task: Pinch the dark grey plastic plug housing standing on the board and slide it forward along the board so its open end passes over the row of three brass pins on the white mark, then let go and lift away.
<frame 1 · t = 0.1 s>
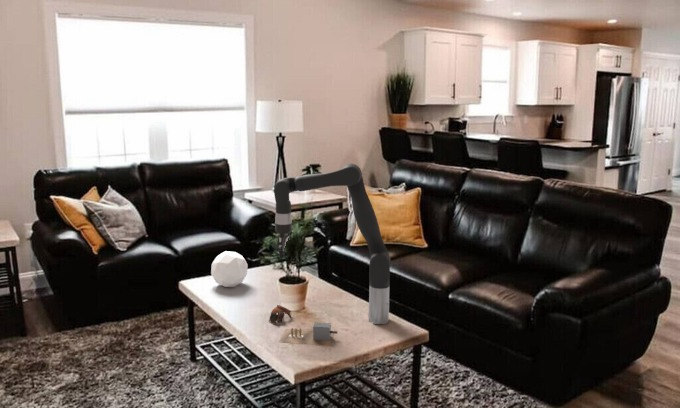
hand: (283, 255, 268), 29 cm above the table, tool pointing down, fingers open, 8 cm apart
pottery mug: (280, 321, 267), on the table
plug housing: (322, 338, 246), point 1 cm above the table, touching header board
header board: (307, 340, 247), on the table
geometric orb: (229, 285, 313), on the table
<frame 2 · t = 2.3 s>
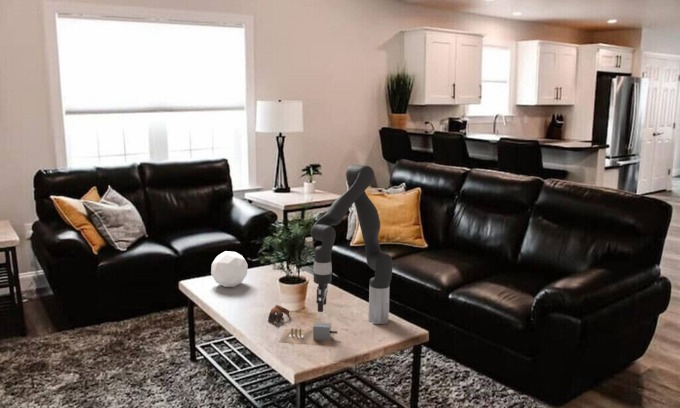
hand: (322, 307, 243), 15 cm above the table, tool pointing down, fingers open, 8 cm apart
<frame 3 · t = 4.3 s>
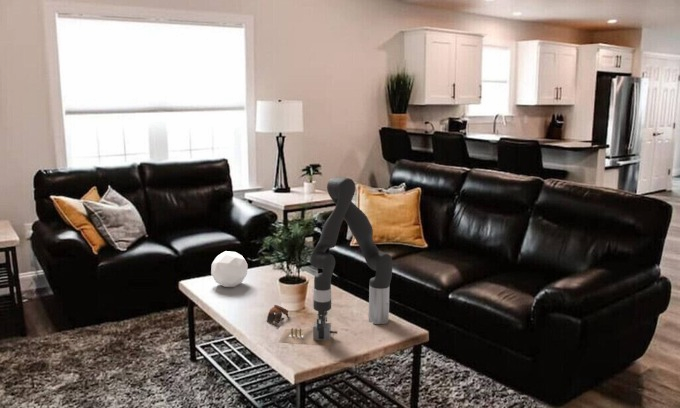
hand: (322, 335, 246), 3 cm above the table, tool pointing down, fingers closed on plug housing, 4 cm apart
plug housing: (322, 338, 246), point 2 cm above the table, touching gripper, header board
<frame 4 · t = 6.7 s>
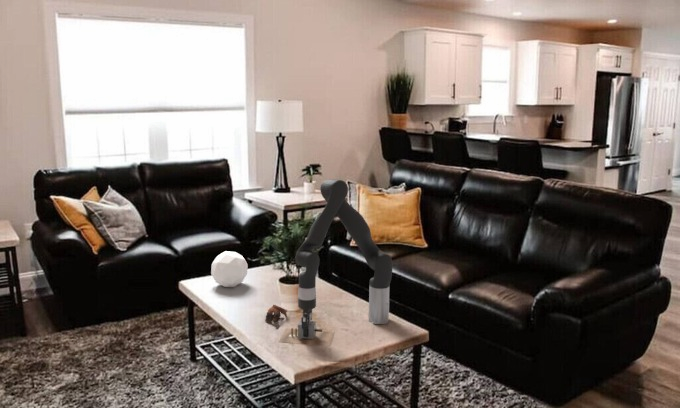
hand: (306, 333, 246), 3 cm above the table, tool pointing down, fingers closed on plug housing, 4 cm apart
plug housing: (307, 336, 246), point 2 cm above the table, touching gripper
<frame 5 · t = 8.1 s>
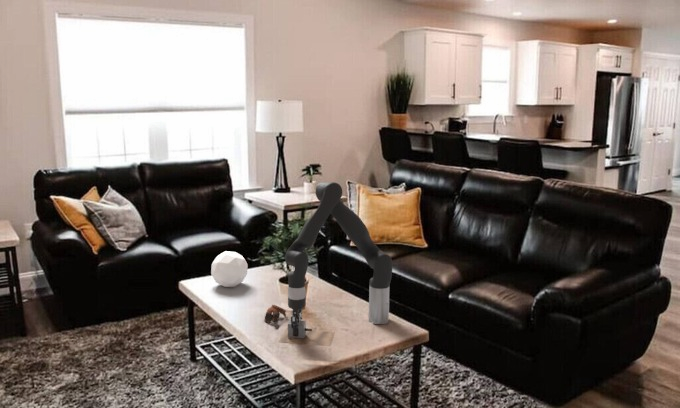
hand: (296, 333, 247), 3 cm above the table, tool pointing down, fingers closed on plug housing, 4 cm apart
plug housing: (296, 335, 247), point 2 cm above the table, touching gripper
when the fingers open (3 cm above the table, at t = 8.9 s): plug housing stays where it is, resting on header board.
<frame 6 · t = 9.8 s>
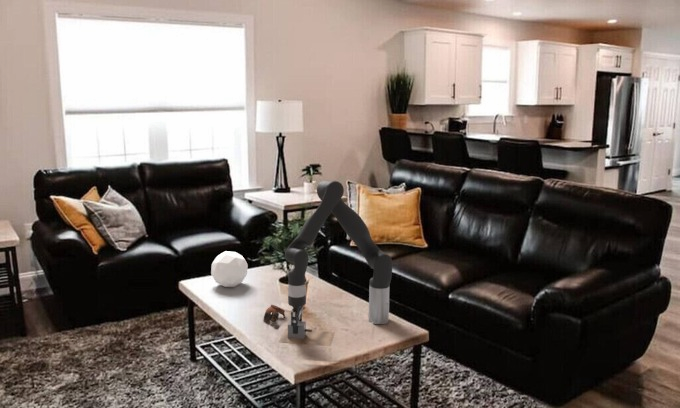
hand: (297, 329, 247), 5 cm above the table, tool pointing down, fingers open, 8 cm apart
plug housing: (296, 336, 247), point 1 cm above the table, touching header board
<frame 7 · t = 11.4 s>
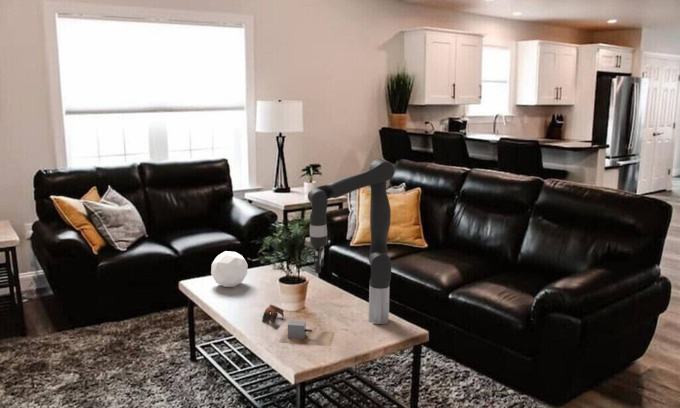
hand: (319, 269, 254), 28 cm above the table, tool pointing down, fingers open, 8 cm apart
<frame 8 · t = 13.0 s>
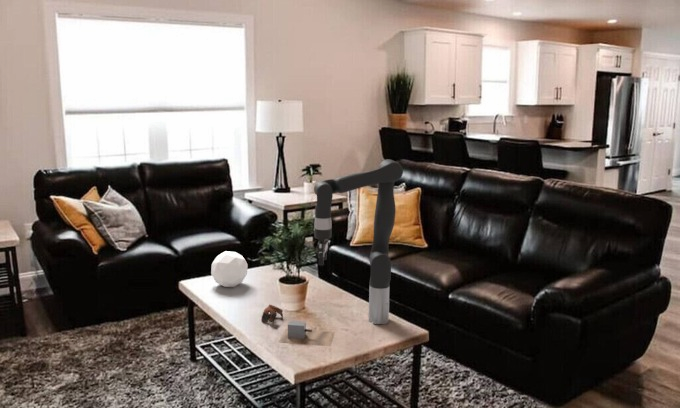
hand: (322, 262, 256), 30 cm above the table, tool pointing down, fingers open, 8 cm apart
at the end: plug housing 0.0 cm from the target spot on the header board, point 1.5 cm above the header board's base; plug housing tilted 0°; the gripper is holding nothing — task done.
